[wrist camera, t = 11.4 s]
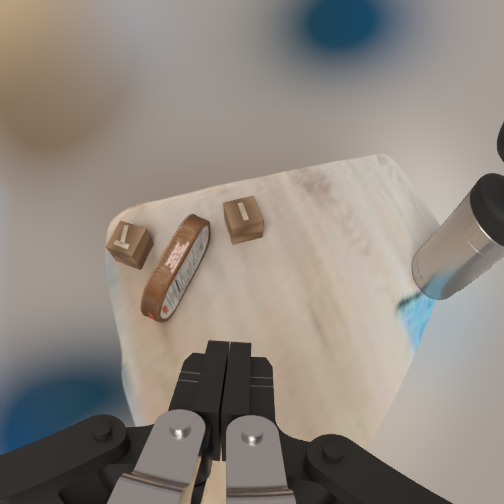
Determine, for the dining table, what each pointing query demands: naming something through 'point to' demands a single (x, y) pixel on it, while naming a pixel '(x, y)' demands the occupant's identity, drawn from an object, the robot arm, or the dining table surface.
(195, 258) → the tin
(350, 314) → the dining table surface
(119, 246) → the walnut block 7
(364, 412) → the dining table surface
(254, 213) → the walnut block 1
